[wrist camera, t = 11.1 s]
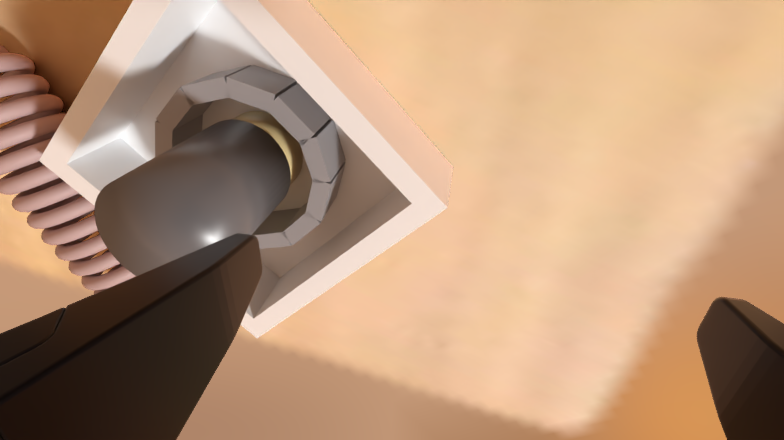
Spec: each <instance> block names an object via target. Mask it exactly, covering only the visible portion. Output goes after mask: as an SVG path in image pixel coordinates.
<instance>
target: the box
mask: <svg viewBox="0 0 784 440" xmlns="http://www.w3.org/2000/svg"><path fill="white" fill-rule="evenodd" d="M249 111H261V112H266V113H269V114H271V115H272V116H273V117H274V118H275V119H276V120H277V121H278V122H279V123H280V124H281V125H282V126H283V127H284V128H285V129H286V130H287V131H288V132H289V133H290V134H291V135H292V136H293V137H294V138H295V139H296V140H297V141H298V142H299V143H300V146H301V149H302V153H303V164H302V169H301V172H300V174H299V175H298V177H297V178H296V180H295V181H294V182H293V183H292V184H291V185H290V187H289V190H288V192H287V195H286V196H285V198H284V199H283V200H282V201H281V203H280V204H279V205H278V206H277V207H276V208H275V209H274V210H273V211H272V213H271V214H270V215H269V216H268V217H267V218H266V219H265V220H264V222H263V223H262V224H261V225H260V226H259V227H258V228H257V229H256V231H255V232H254V233H253V234H252V235H254V236H256V237H257V239H258V241H259V247H260V254H261V260H262V275H261V278H260V281H259V283H258V285H257V287H256V290H255V292H254V294H253V297H252V299H251V301H250V304H249V306H248V308H247V311H246V313H245V315H244V318H243V320H242V322H241V326H243V327H244V328H245V329H246V330H247V331H249V332H250V333H251V334H252V335H254V336H255V337H256V338H259V337H260V336H261V335H263V334H264V333H266V332H267V331H269V330H270V329H272V328H273V327H275V326H276V325H277V324H279V323H280V322H282V321H283V320H285V319H286V318H288V317H289V316H291V315H292V314H294V313H295V312H296V311H298V310H299V309H301V308H302V307H304V306H305V305H307V304H308V303H310V302H311V301H312V300H314V299H315V298H317V297H318V296H320V295H321V294H323V293H324V292H326V291H327V290H329V289H330V288H331V287H333V286H334V285H336V284H337V283H339V282H340V281H342V280H343V279H345V278H346V277H347V276H349V275H350V274H352V273H353V272H355V271H356V270H358V269H359V268H361V267H362V266H364V265H365V264H366V263H368V262H369V261H371V260H372V259H374V258H375V257H377V256H378V255H380V254H381V253H382V252H384V251H385V250H387V249H388V248H390V247H391V246H393V245H394V244H396V243H397V242H399V241H400V240H401V239H403V238H404V237H406V236H407V235H409V234H410V233H412V232H413V231H415V230H416V229H417V228H419V227H420V226H422V225H423V224H425V223H426V222H428V221H429V220H431V219H432V218H434V217H435V216H436V215H438V214H439V213H441V212H442V211H444V210H445V209H447V208H448V202H449V195H450V188H451V181H452V174H453V166H452V165H451V164H450V163H449V161H448V160H447V159H446V158H445V157H444V156H443V155H442V153H441V152H440V151H439V150H438V149H437V148H436V147H435V145H434V144H433V143H432V142H431V141H430V140H429V139H428V138H427V136H426V135H425V134H424V133H423V132H422V131H421V130H420V128H419V127H418V126H417V125H416V124H415V123H414V122H413V120H412V119H411V118H410V117H409V116H408V115H407V114H406V112H405V111H404V110H403V109H402V108H401V107H400V106H399V104H398V103H397V102H396V101H395V100H394V99H393V98H392V96H391V95H390V94H389V93H388V92H387V91H386V90H385V88H384V87H383V86H382V85H381V84H380V83H379V82H378V81H377V79H376V78H375V77H374V76H373V75H372V74H371V73H370V71H369V70H368V69H367V68H366V67H365V66H364V65H363V63H362V62H361V61H360V60H359V59H358V58H357V57H356V55H355V54H354V53H353V52H352V51H351V50H350V49H349V47H348V46H347V45H346V44H345V43H344V42H343V41H342V39H341V38H340V37H339V36H338V35H337V34H336V33H335V32H334V30H333V29H332V28H331V27H330V26H329V25H328V24H327V22H326V21H325V20H324V19H323V18H322V17H321V16H320V14H319V13H318V12H317V11H316V10H315V9H314V8H313V6H312V5H311V4H310V3H309V2H308V1H307V0H133V1H132V3H131V5H130V7H129V8H128V10H127V12H126V13H125V15H124V17H123V18H122V20H121V22H120V24H119V25H118V27H117V29H116V30H115V32H114V34H113V35H112V37H111V39H110V41H109V42H108V44H107V46H106V47H105V49H104V51H103V52H102V54H101V56H100V58H99V59H98V61H97V63H96V64H95V66H94V68H93V69H92V71H91V73H90V75H89V76H88V78H87V80H86V81H85V83H84V85H83V86H82V88H81V90H80V92H79V93H78V95H77V97H76V98H75V100H74V102H73V103H72V105H71V107H70V109H69V110H68V112H67V114H66V115H65V117H64V119H63V120H62V122H61V124H60V126H59V127H58V129H57V131H56V132H55V134H54V136H53V137H52V139H51V141H50V143H49V144H48V146H47V148H46V149H45V151H44V153H43V154H42V156H41V158H40V160H39V161H40V162H41V163H42V164H44V165H45V166H46V167H47V168H49V169H50V170H51V171H52V172H54V173H55V174H56V175H57V176H58V177H60V178H61V179H62V180H63V181H65V182H66V183H67V184H68V185H69V186H71V187H72V188H73V189H74V190H76V191H77V192H78V193H79V194H81V195H82V196H83V197H84V198H85V199H87V200H88V201H89V202H90V203H92V204H93V205H94V206H95V202H96V199H97V196H98V194H99V193H100V191H101V190H102V189H103V188H104V187H105V186H106V185H107V184H109V183H110V182H112V181H114V180H116V179H117V178H119V177H121V176H123V175H125V174H126V173H128V172H130V171H132V170H133V169H135V168H137V167H139V166H141V165H142V164H144V163H146V162H148V161H149V160H151V159H153V158H155V157H156V156H158V155H160V154H162V153H164V152H165V151H167V150H169V149H171V148H172V147H174V146H176V145H178V144H180V143H181V142H183V141H185V140H187V139H188V138H190V137H192V136H194V135H195V134H197V133H199V132H201V131H203V130H204V129H206V128H208V127H210V126H211V125H213V124H215V123H217V122H220V121H224V120H231V119H233V118H235V117H237V116H239V115H240V114H243V113H245V112H249Z"/></svg>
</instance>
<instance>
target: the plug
mask: <svg viewBox="0 0 784 440" xmlns="http://www.w3.org/2000/svg"><path fill="white" fill-rule="evenodd" d="M302 164H303V153H302V149H301V146H300V143H299V142H298V141H297V140H296V139H295V138H294V137H293V136H292V135H291V134H290V133H289V132H288V131H287V130H286V129H285V128H284V127H283V126H282V125H281V124H280V123H279V122H278V121H277V120H276V119H275V118H274V117H273V116H272V115H271V114H269V113H266V112H261V111H249V112H245V113H243V114H240V115H239V116H237V117H235V118H233V119H231V120H224V121H220V122H217V123H215V124H213V125H211V126H210V127H208V128H206V129H204V130H203V131H201V132H199V133H197V134H195V135H194V136H192V137H190V138H188V139H187V140H185V141H183V142H181V143H180V144H178V145H176V146H174V147H172V148H171V149H169V150H167V151H165V152H164V153H162V154H160V155H158V156H156V157H155V158H153V159H151V160H149V161H148V162H146V163H144V164H142V165H141V166H139V167H137V168H135V169H133V170H132V171H130V172H128V173H126V174H125V175H123V176H121V177H119V178H117V179H116V180H114V181H112V182H110V183H109V184H107V185H106V186H105V187H104V188H103V189H102V190H101V191H100V193H99V194H98V196H97V199H96V202H95V208H94V216H95V222H96V226H97V229H98V232H99V234H100V237H101V238H102V240H103V242H104V244H105V245H106V247H107V248H108V250H109V251H110V252H111V254H112V255H113V256H114V257H115V258H116V260H117V261H118V262H119V263H120V264H121V265H123V266H124V267H125V268H126V269H127V270H128V271H130V272H131V273H132V274H134V275H135V276H138V275H140V274H143V273H145V272H147V271H150V270H152V269H154V268H157V267H159V266H161V265H164V264H166V263H168V262H171V261H173V260H175V259H178V258H180V257H182V256H185V255H187V254H189V253H192V252H194V251H196V250H199V249H201V248H203V247H206V246H208V245H210V244H213V243H215V242H217V241H220V240H222V239H224V238H227V237H229V236H231V235H234V234H236V233H242V234H249V235H252V234H253V233H254V232H255V231H256V229H257V228H258V227H259V226H260V225H261V224H262V223H263V222H264V220H265V219H266V218H267V217H268V216H269V215H270V214H271V213H272V211H273V210H274V209H275V208H276V207H277V206H278V205H279V204H280V203H281V201H282V200H283V199H284V198H285V196H286V195H287V192H288V190H289V187H290V185H291V184H292V183H293V182H294V181H295V180H296V178H297V177H298V175H299V174H300V172H301V169H302Z"/></svg>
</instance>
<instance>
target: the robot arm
mask: <svg viewBox="0 0 784 440" xmlns="http://www.w3.org/2000/svg"><path fill="white" fill-rule="evenodd" d="M261 275H262V260H261V254H260V247H259V241H258V239H257V237H256V236H254V235H249V234H242V233H236V234H234V235H231V236H229V237H227V238H224V239H222V240H220V241H217V242H215V243H213V244H210V245H208V246H206V247H203V248H201V249H199V250H196V251H194V252H192V253H189V254H187V255H185V256H182V257H180V258H178V259H175V260H173V261H171V262H168V263H166V264H164V265H161V266H159V267H157V268H154V269H152V270H150V271H147V272H145V273H143V274H140V275H138V276H136V277H133V278H131V279H129V280H126V281H124V282H122V283H119V284H117V285H115V286H112V287H110V288H108V289H105V290H103V291H101V292H98V293H96V294H94V295H91V296H89V297H87V298H84V299H82V300H79V301H77V302H75V303H72V304H70V305H68V306H67V307H66V308H61V309H58V310H56V311H54V312H51V313H49V314H47V315H44V316H42V317H40V318H37V319H35V320H32V321H30V322H28V323H25V324H23V325H20V326H18V327H16V328H13V329H11V330H8V331H6V332H3V333H1V334H0V440H176V439H177V437H178V436H179V434H180V432H181V431H182V429H183V427H184V425H185V423H186V422H187V420H188V418H189V417H190V415H191V413H192V411H193V410H194V408H195V406H196V404H197V403H198V401H199V399H200V397H201V395H202V394H203V392H204V390H205V389H206V387H207V385H208V383H209V382H210V380H211V378H212V376H213V375H214V373H215V371H216V369H217V368H218V366H219V364H220V362H221V361H222V359H223V357H224V355H225V354H226V352H227V350H228V348H229V346H230V345H231V343H232V341H233V339H234V337H235V335H236V333H237V331H238V329H239V327H240V325H241V322H242V320H243V318H244V315H245V313H246V311H247V308H248V306H249V304H250V301H251V299H252V297H253V294H254V292H255V290H256V287H257V285H258V283H259V281H260V278H261ZM697 342H698V346H699V349H700V353H701V357H702V360H703V364H704V367H705V371H706V375H707V378H708V382H709V385H710V389H711V393H712V397H713V400H714V404H715V407H716V410H717V413H718V417H719V420H720V422H721V425H722V428H723V430H724V433H725V435H726V437H727V440H784V324H783V323H782V322H780V321H778V320H777V319H775V318H773V317H772V316H770V315H768V314H767V313H765V312H764V311H762V310H760V309H758V308H757V307H755V306H754V305H752V304H750V303H749V302H747V301H745V300H741V299H735V298H727V297H719V298H717V299H715V300H714V301H713V303H712V304H711V306H710V308H709V310H708V311H707V313H706V315H705V317H704V319H703V321H702V322H701V324H700V326H699V328H698V331H697Z"/></svg>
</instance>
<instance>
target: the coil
mask: <svg viewBox="0 0 784 440" xmlns="http://www.w3.org/2000/svg"><path fill="white" fill-rule="evenodd" d="M34 71H35V65H34V63H33V61H32V60H31V59H29V58H28V57H27V56H24V55H21V54H16V53H9V52H8V51H7V50H6V49H5V47H4V46H0V73H1V72H6V73H4V74H3V75H1V76H0V98H2V97H5V96H9V95H13V94H15V95H13V96H12V97H10V98H8V99H6V100H4V101H2V102H0V124H2V123H5V122H8V121H11V120H14V119H17V118H19V119H17V120H15V121H13V122H11V123H9V124H7V125H5V126H3V127H1V128H0V150H2V149H5V148H7V147H10V146H13V145H15V146H13V147H11V148H9V149H7V150H5V151H3V152H1V153H0V175H3V174H6V173H8V172H11V171H13V172H11V173H9V174H8V175H6V176H4V177H3V178H1V179H0V193H3V194H5V195H12V194H16V193H19V194H18V195H17V196H16V197H15V198H14V199H13V201H12V206H13V208H14V209H15V210H17V211H19V212H30V211H32V212H31V213H30V214H29V216H28V217H27V223H28V224H29V226H30V227H33V228H35V229H44V228H45V229H44V230H43V232H42V236H41V238H42V240H43V241H44V242H45V243H47V244H49V245H57V247H56V249H55V254H56V255H57V257H58V258H59V259H62V260H64V261H70V262H69V270H70V271H71V273H73V274H75V275H78V276H82V284H83V286H84V287H85V288H87V289H89V290H94V294H96V293H98V292H101V291H103V290H105V289H108V288H110V287H112V286H115V285H117V284H119V283H122V282H124V281H126V280H129V279H131V278H133V277H136V276H135V275H134V274H132V273H131V272H130V271H128V270H127V269H126V268H125V267H124V266H123V265H121V264H120V263H119V262H118V261H117V260H116V258H115V257H114V256H113V255H112V254H111V252H110V251H109V250H107V251H106V252H104V253H103V254H102V255H100V256H98V257H96V258H93V259H91V258H92V257H94V256H95V255H96V254H97V253H98V252H100V251H102V250H104V249H107V247H106V245H105V244H104V242H103V240H102V238H101V237H100V234H99V235H97V236H95V237H93V238H91V239H88V240H86V241H84V240H85V239H86V238H88V237H89V236H90V235H92V234H93V233H95V232H96V231H98V229H97V226H96V222H95V216H94V215H93V216H90V217H88V218H86V219H84V220H81V219H82V218H84V217H85V216H87V215H88V214H90V213H91V212H93V211H94V208H95V206H94V205H93V204H92V203H90V202H89V201H88V200H87V199H85V198H84V197H82V198H80V197H81V196H82V195H81V194H79V193H78V192H77V191H76V190H74V189H73V188H72V187H71V186H69V185H68V184H67V183H66V182H65V181H63V180H62V179H61V178H60V177H58V176H57V175H56V174H55V173H54V172H52V171H51V170H50V169H49V168H47V167H46V166H45V165H44V164H42V163H41V162H40V161H39V160H40V158H41V156H42V154H43V153H44V151H45V149H46V148H47V146H48V144H49V143H50V141H51V139H52V137H53V136H54V134H55V132H56V131H57V129H58V127H59V126H60V124H61V122H62V120H63V119H64V117H65V115H66V113H60V112H61V111H62V109H63V102H62V100H61V99H60V98H59V97H57V96H55V95H50V94H47V93H48V91H49V87H50V86H49V83H48V81H47V80H46V79H44V78H43V77H42V76H38V75H34ZM20 117H21V118H20ZM16 144H17V145H16ZM20 192H21V193H20ZM78 198H79V199H78ZM79 220H81V221H79ZM78 221H79V222H78ZM76 222H77V223H76ZM114 266H115V267H114ZM111 267H113V268H112V269H111V270H110V271H109V272H108V273H106V274H103V275H101V274H102V273H103V272H104V271H105V270H107V269H109V268H111Z"/></svg>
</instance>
